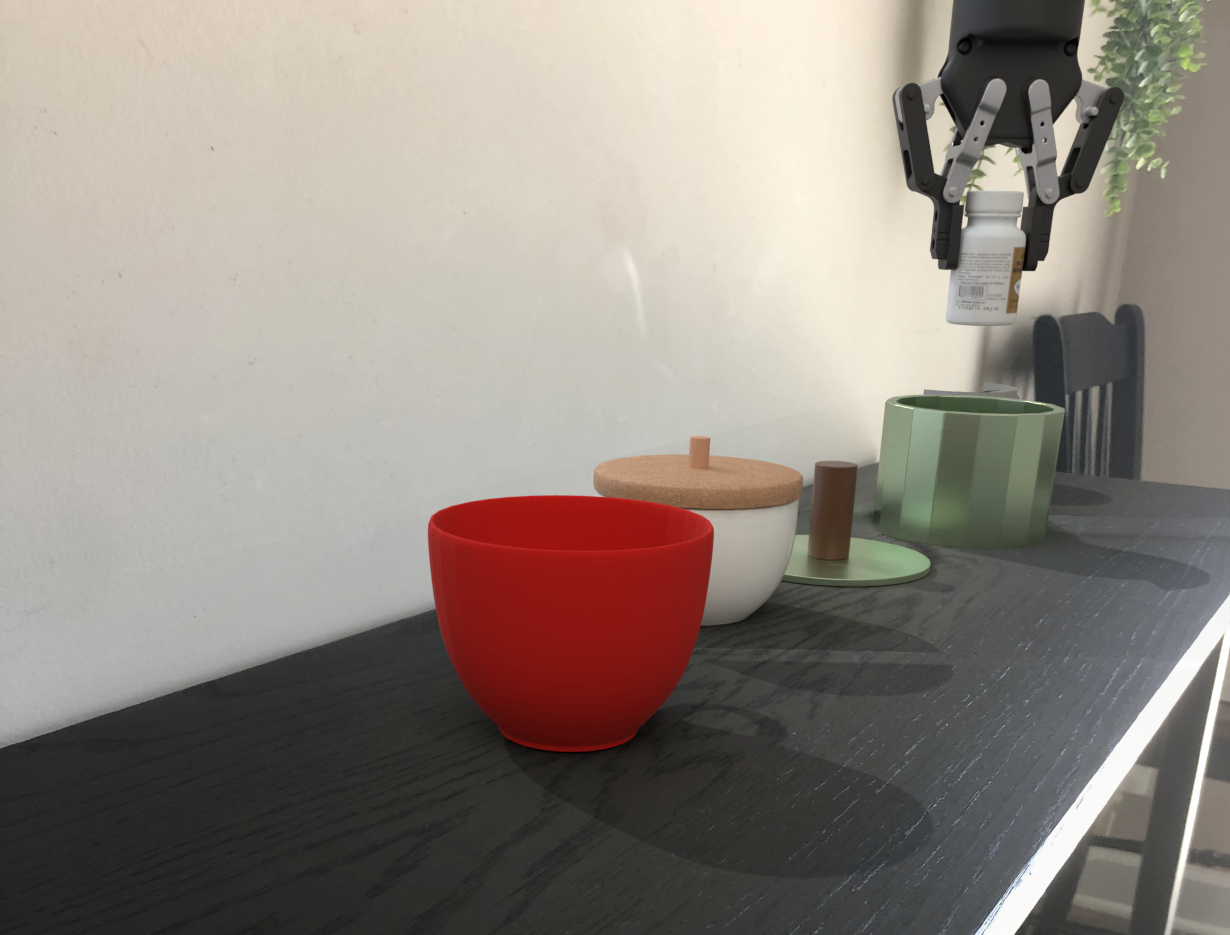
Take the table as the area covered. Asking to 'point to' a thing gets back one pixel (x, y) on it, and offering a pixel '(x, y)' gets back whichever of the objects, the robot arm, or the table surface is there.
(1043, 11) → the robot arm
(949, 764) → the table surface
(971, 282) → the pill bottle
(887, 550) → the lid
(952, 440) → the tin
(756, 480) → the lidded bowl
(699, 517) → the ceramic cup
